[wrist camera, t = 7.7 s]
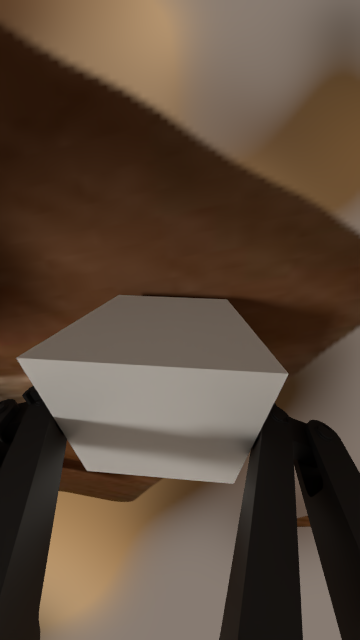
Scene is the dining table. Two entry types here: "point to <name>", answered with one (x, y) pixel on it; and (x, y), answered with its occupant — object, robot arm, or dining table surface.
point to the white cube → (158, 387)
